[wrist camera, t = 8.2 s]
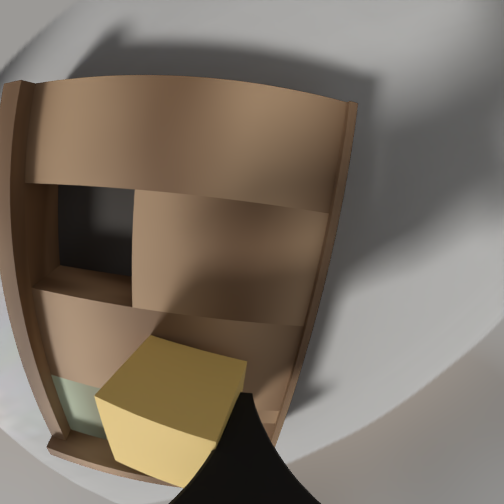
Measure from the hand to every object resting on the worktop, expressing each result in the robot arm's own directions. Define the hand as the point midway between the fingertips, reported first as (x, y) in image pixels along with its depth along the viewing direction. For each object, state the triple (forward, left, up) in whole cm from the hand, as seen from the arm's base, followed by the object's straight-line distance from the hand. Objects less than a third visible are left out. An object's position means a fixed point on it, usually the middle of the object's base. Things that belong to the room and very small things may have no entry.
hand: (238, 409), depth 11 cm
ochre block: (-2, 0, -1) cm, 2 cm away
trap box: (-4, +2, -5) cm, 7 cm away
